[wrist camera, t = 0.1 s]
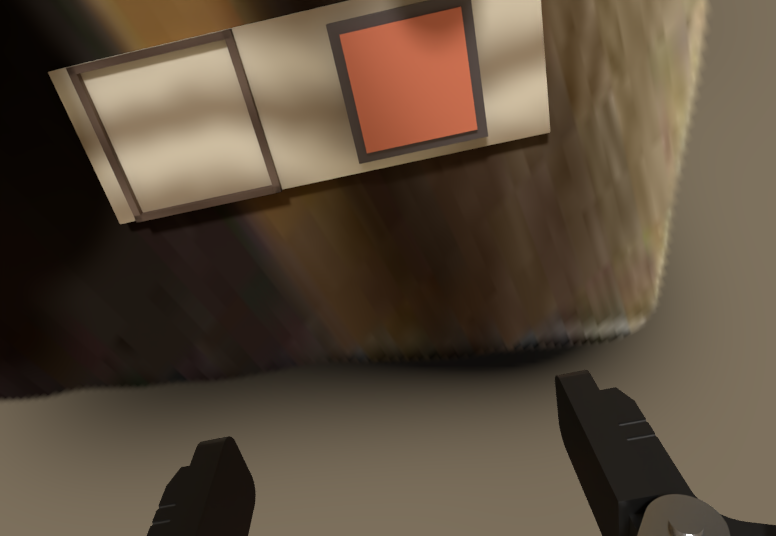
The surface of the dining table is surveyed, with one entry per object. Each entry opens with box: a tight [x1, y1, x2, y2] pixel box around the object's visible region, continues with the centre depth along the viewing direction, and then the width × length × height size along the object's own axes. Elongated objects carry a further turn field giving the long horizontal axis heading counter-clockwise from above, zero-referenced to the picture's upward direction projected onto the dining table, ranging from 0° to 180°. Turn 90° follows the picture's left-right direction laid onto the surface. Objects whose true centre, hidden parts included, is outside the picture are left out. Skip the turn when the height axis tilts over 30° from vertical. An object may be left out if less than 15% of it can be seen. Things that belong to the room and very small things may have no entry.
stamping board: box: [48, 0, 550, 224], centre depth 37 cm, size 11×32×2 cm, turn 102°
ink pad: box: [326, 0, 488, 164], centre depth 36 cm, size 9×9×2 cm
